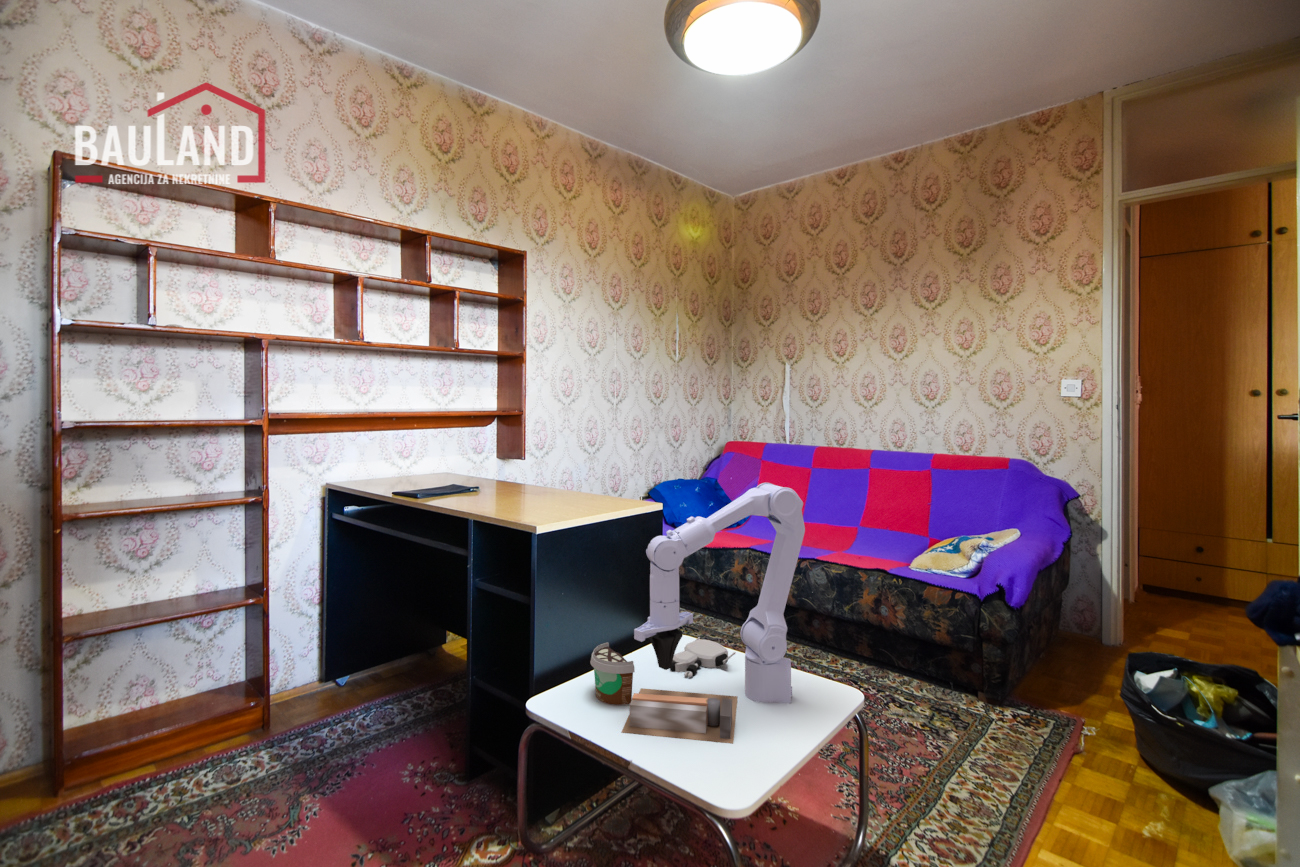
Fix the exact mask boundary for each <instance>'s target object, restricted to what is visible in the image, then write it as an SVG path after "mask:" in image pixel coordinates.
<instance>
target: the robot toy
mask: <svg viewBox="0 0 1300 867" xmlns="http://www.w3.org/2000/svg"><path fill="white" fill-rule="evenodd" d="M734 655H736V651H733V652H732V653H731V654H729V650H728V649H727V648H726V647H724V646H723V645H722V644H720V643H718V642H716V641H713V640H709V639H701V636H698V637H697V638H696V639H695V640H693V641H691V642H689V643H687V644H685V646H684V651H681V652H678V653H674V657H673V661H672V665H671V668H670V669H669V670H670V671H671V672H674V673H675V672H676V673H683V672H684V677H686V678H687V677H688V678H691V677H694V676H695V675H696V674H697V672H698V669H699V668H701V667H703V668H708V669H718V668H720V667H721V666H723V665H725V664H727V663H728V660H729V659H731V657H733V656H734Z"/></svg>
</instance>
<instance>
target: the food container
mask: <svg viewBox="0 0 1300 867" xmlns="http://www.w3.org/2000/svg"><path fill="white" fill-rule="evenodd" d="M589 662H590V665H591V667H592V668H593V672H594V684H595V686H594V688H595V696H596V699H597V700H599V701H600V702H601V703H604V704H607V705H614V706H622V705H625V706H626V705H630V703H631V700H632V697H633V695H632V694H633V680H634V679H633V678H634V673H636V672H635V670H636V669H635V664H634V660H631V661H629V660H626V658H624V656H623V655H622V654H621V653H619V652H618V651H617V652H616V651H614V649H612V648H611V647H610V643H609V642H604V643H601V644H598V645H597V646H596V647H595V648H594V649H593V651H592V653H591V657H590V661H589Z"/></svg>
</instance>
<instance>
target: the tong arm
mask: <svg viewBox="0 0 1300 867" xmlns="http://www.w3.org/2000/svg"><path fill="white" fill-rule="evenodd" d="M632 694H633V695H632V700H640V701H651V702H662V703H674V704H685V705H696V706H707V725H710V726H718V725H719V724H720V700H719V699H716V698H709V699H708V698H696V697H681V696H667V695H653V694H639V692H638V693H636V692H635V693H632Z"/></svg>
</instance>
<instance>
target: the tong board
mask: <svg viewBox="0 0 1300 867" xmlns="http://www.w3.org/2000/svg"><path fill="white" fill-rule="evenodd" d="M638 693H639V694H653V695H667V696H681V697H696V698H708V699H709V698H716V699H719V700H720V724H719V725H718V726H710V725H707V706H696V705H685V704H674V703H662V702H651V701H640V700H631V703H630V704H628V705H629V708H628V709H629V710H628V711H629V715H628V717H627V719H626V721H625V722H624V725H623V727H622V730H621V732H620V733H622V734H630V735H640V736H641V735H642V736H649V737H651V736H652V737H660V738H661V737H662V738H670V739H681V740H690V741H691V740H692V741H700V742H701V741H703V742H713V743H719V744H720V743H721V744H731V745H733V744H734V738H735V729H736V728H735V727H736V719H737V718H736V716H737V710H738V709H737V708H738V707H737V705H738V698H739V697H738V696H737V695H736V696H734V695H723V694H715V693H714V694H713V693H712V694H710V693H703V692H702V693H701V692H690V691H689V692H688V691H687V692H686V691H677V690H676V691H675V690H666V689H665V690H663V689H652V688H640V689H639V692H638Z"/></svg>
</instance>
